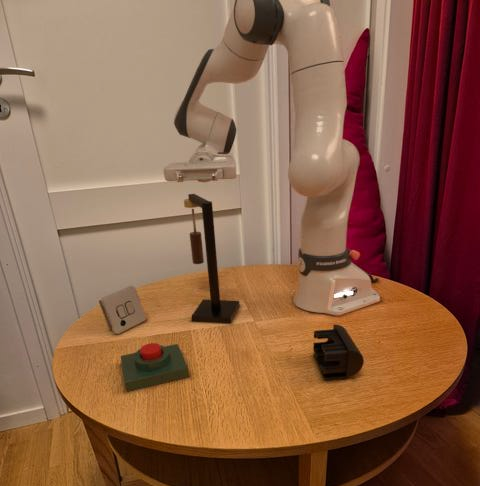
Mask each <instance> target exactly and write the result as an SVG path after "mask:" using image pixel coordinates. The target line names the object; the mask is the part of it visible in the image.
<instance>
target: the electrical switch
mask: <svg viewBox="0 0 480 486" xmlns="http://www.w3.org/2000/svg"><path fill="white" fill-rule="evenodd" d="M98 303H99V306H100V308H101V311H102V313H103V316H104V319H105V321H106V323H107V327H108V329H109V331H112V333H113V334H115V335H120V334H121V333H124V332H126V331H128V330H129V329H131V328H134V327H135V326H137V325H139V324H141V323H143V322H145V321H146V320H147V317H146V314H145V311H144V308H143V305H142V303H141V299H140V298H139V295H138V292H137V289H136V287H135V286H133V285H130V286H127V287H126V288H123V289H120V290H117V291H115V292H112V293H111V294H108V295H105V296H103V297H101V299H100V300H99V301H98Z"/></svg>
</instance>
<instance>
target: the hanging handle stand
mask: <svg viewBox="0 0 480 486" xmlns="http://www.w3.org/2000/svg"><path fill="white" fill-rule="evenodd" d="M183 205H184V208H186V209H194V208H200V209H201V212H202V213H201V214H202V224H203V233H204V244H205V245H204V246H205V257H206V267H207V278H208V288H209V297H210V298H209V299H205V298H204V299H202V300H201V302H200V303H199V304H198V306H197V307H196V308H195V310H194V312H193V313H192V315H191V317H190V318H191V322H197V323H213V324H214V323H215V324H216V323H217V324H231V323H232V322H233V320H234V318H235V316H236V314H237V312H238V310H239V308H240V305H241V304H240V303H241V302H240V300H228V299H227V300H225V299H221V295H220V283H219V282H220V281H219V269H218V258H217V257H218V255H217V244H216V235H215V234H216V233H215V220H214V211H213V210H214V209H213V208H214V207H213V201H211V200H207V199H206V198H204V197H202V196H199V195H198V194H196V193H189V194H188V198H184V200H183Z"/></svg>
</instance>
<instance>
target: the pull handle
mask: <svg viewBox="0 0 480 486" xmlns="http://www.w3.org/2000/svg"><path fill="white" fill-rule="evenodd" d="M191 216H192V217H191V219H192V225H193V231H192V232H189V241H190V251H191V261H192V264H193V265H202V264H204V263H205V260H204V250H203V249H204V248H203V240H202V232H201V231H197V226H196V225H197V224H196V215H195V209H194V208H191Z"/></svg>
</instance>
